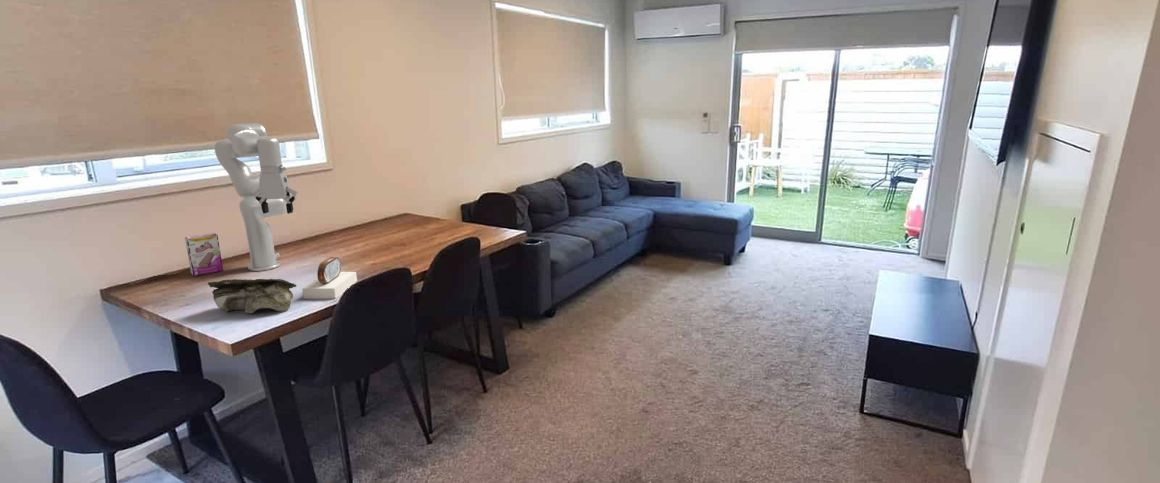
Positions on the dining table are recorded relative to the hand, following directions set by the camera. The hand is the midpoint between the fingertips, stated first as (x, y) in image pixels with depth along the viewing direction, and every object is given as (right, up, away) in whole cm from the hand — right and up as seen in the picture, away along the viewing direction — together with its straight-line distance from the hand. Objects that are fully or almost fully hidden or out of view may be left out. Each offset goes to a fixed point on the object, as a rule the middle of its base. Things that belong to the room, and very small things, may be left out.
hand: (278, 212), depth 219 cm
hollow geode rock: (+4, -36, -23) cm, 43 cm away
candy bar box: (-40, -25, +17) cm, 50 cm away
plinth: (+23, -30, -4) cm, 38 cm away
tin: (+23, -27, -5) cm, 36 cm away
